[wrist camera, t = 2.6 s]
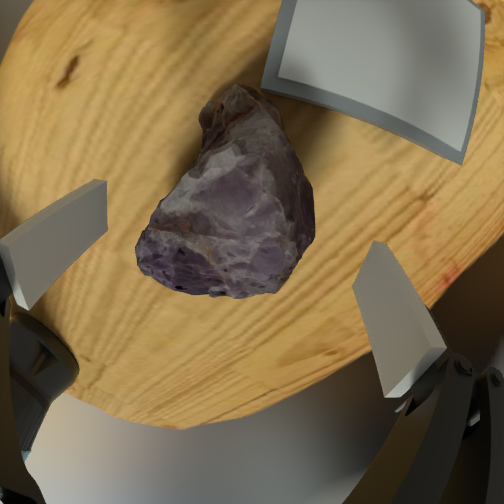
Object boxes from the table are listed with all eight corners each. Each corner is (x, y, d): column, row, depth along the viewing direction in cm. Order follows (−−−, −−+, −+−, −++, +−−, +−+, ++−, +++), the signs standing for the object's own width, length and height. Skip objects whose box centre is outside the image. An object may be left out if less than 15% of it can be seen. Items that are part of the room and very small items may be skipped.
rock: (155, 199, 21) (255, 266, 23) (93, 264, 14) (232, 351, 16) (232, 70, 14) (356, 163, 16) (170, 66, 7) (390, 229, 10)
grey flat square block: (261, 91, 15) (259, 87, 12) (301, -57, 8) (305, -79, 5) (439, 156, 16) (464, 167, 13) (464, 16, 9) (487, 10, 6)
